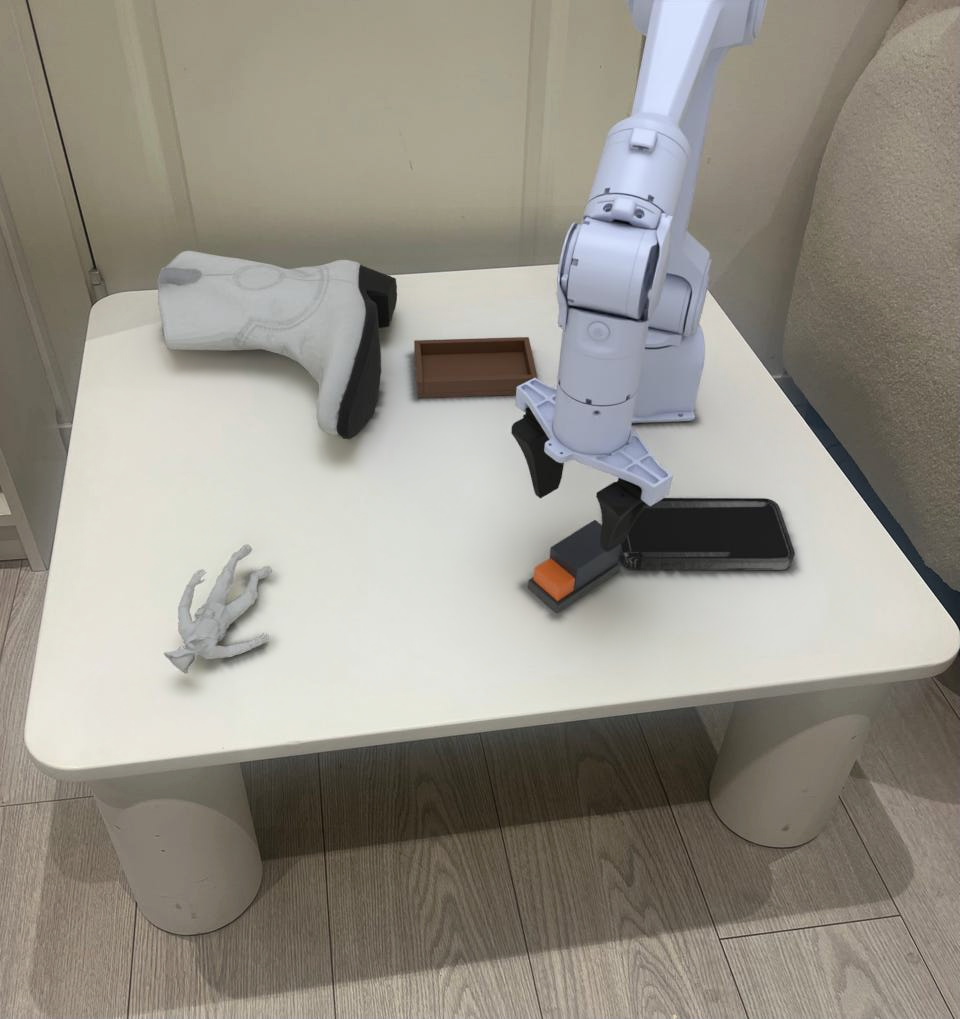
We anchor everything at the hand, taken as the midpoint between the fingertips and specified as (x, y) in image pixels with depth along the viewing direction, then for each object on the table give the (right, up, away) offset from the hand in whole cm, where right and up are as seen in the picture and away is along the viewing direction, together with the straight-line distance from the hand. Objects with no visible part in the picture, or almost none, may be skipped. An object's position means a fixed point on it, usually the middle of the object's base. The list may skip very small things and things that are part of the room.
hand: (578, 517), depth 81 cm
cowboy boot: (-30, +15, +25) cm, 42 cm away
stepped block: (0, -5, +5) cm, 7 cm away
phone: (+12, -2, +9) cm, 15 cm away
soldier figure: (-29, -9, 0) cm, 30 cm away
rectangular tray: (-9, +15, +25) cm, 30 cm away
